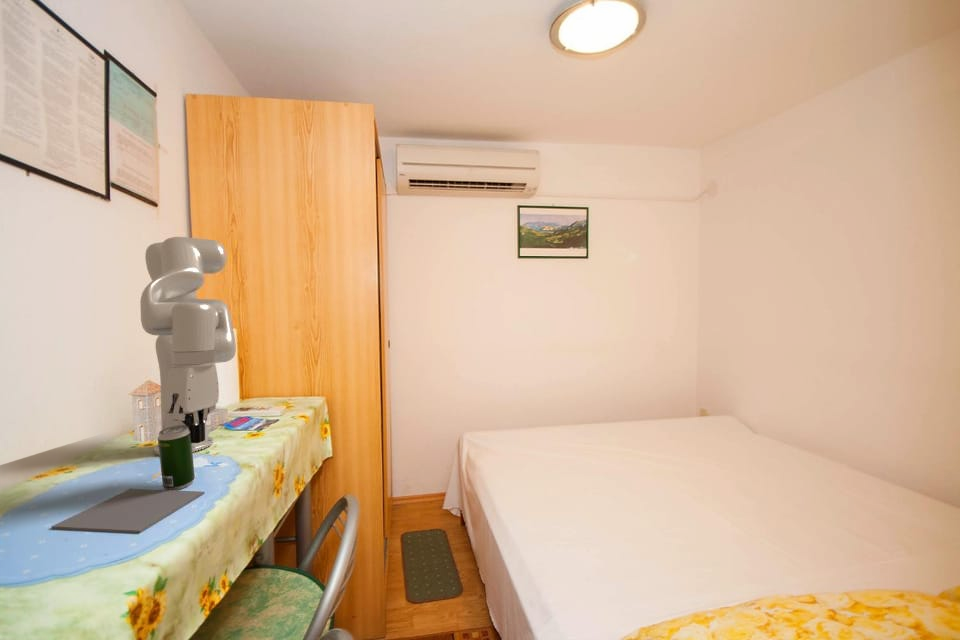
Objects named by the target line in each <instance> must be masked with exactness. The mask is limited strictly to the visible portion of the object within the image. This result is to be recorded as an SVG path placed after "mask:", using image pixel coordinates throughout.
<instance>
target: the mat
mask: <svg viewBox="0 0 960 640" xmlns="http://www.w3.org/2000/svg"><path fill="white" fill-rule="evenodd" d="M204 494H205V491H198V490H197V491H196V490H166V489H150V488H149V489H146V488H129V489H126V490H125V491H123V492H120V493H119V494H116V495H114V496H112V497H110V498H107V499H106V500H104V501H101V502H99V503H98V504H95V505H93V506H91V507H89V508H87V509H85V510H83V511H80V512H78V513H76V514H75V515H72V516H70V517H68V518H66V519H63V520H62V521H59V522H58V523H55V524H53V525H52V526H51V530H52V529H54V530H66V531H67V530H68V531H69V530H71V531H72V530H73V531H88V530H89V531H92V532H111V533H132V534H141V533H142V532H144V531H146V530H147V529H149V528H151V527H152V526H154V525H155V524H157V523H159V522H161V521H162V520H164V519H165V518H167V517H169V516H170V515H172V514H174V513H176V512H177V511H179V510H181V508H183V507H186V506H187V505H188V504H190V503H192V502H194V501H195V500H196V499H198V498H200V497H202V496H203V495H204Z"/></svg>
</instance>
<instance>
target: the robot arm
mask: <svg viewBox="0 0 960 640" xmlns="http://www.w3.org/2000/svg"><path fill="white" fill-rule="evenodd" d="M144 254H145V264H146V269H147V272H148V275H149V277H150V279H151V281H150V282H149V283H148V284H147V285H146V286H145V287H144V289H143V290H142V293H141V297H140V321H141V327H142V328H143V330H144V331H145V332H146V333H147V334H149V335H151V336H157V338H156V339H155V345H154V346H155V353H156V356H157V357H156V358H157V362H158V368H159V376H160V377H159V378H160V382H159V383H160V410H161V411H160V412H161V413H160V417H161V418H160V420H161V421H160V423H161V430H163V429H166V428H169V427H173V426H180V425H185V426H188V427H189V430H190V432H191V443H192V453H195V451H196V452H199V451H202V450H205V449H207V448H209V447H210V446H212V445H213V444H214V438H213V437H211V436H210V435H209V434H210V433H211V432H214V431H216V430H217V429H218V428H219V427H218V424H217V423H215V422H214V423H212V424H209V425H207V422H208V415H209V414H210V413H211V412H212V411H214V410H215V409H216V405H217V404H218V403H219V398H220V395H219V394H220V393H219V392H220V391H219V390H220V389H219V378H218V371H217V370H218V369H217V367H216V364H218V363H225V362H226V363H227V362H230V361H231V360H232V359H233V358H235V355H236V350H237V345H236V338H235V333H234V327H233V321H232V315H231V311H230V308H229V306H228V305H227V303H226V302H225V301H223V300H220V299H213V298H211V299H210V298H207V299H206V298H197V291H199V290H200V289H201V288H202V287H203V285H204V283H205V275H208V274H209V275H210V274H211V275H212V274H213V275H214V274H217V273H219V272H221V271H222V270H223V269H224V268H225V267H226V264H227V253H226V249H225V247H224V245H222V243H221V242H219V241H218V240H215V239H214V240H213V239H207V238H197V237H187V236H173V237H169V238H166V239H165V240H163V241H162V242H154V243H152V244H150V245H148V246H147V247H146V250H145V253H144ZM212 443H213V444H212ZM211 444H212V445H211ZM208 446H209V447H208ZM206 447H207V448H206ZM204 448H205V449H204ZM201 449H202V450H201ZM198 450H199V451H198ZM153 451H154V452H153V453H154V454H155V455H157V456H160V455H159V446H158V444H157V445H156V446H154V448H153Z"/></svg>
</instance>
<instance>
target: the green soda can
mask: <svg viewBox="0 0 960 640" xmlns="http://www.w3.org/2000/svg"><path fill="white" fill-rule="evenodd" d="M157 445H158V446H159V455H158V456H159V462H160V464H159V465H160V471H161V473H160V474H161V481H162V486H163V489H164V490H177V491H179V490H181V489H184V488H186V487H189V486H191V484H193V483H194V480H195V466H194V465H195V464H194V455H193V453H194V452H192V443H191V432H190V430H189V427H188V426H185V425H180V426H173V427H169V428H166V429H163V430H162V429H161V430H160V431H159V432H158V437H157Z"/></svg>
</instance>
